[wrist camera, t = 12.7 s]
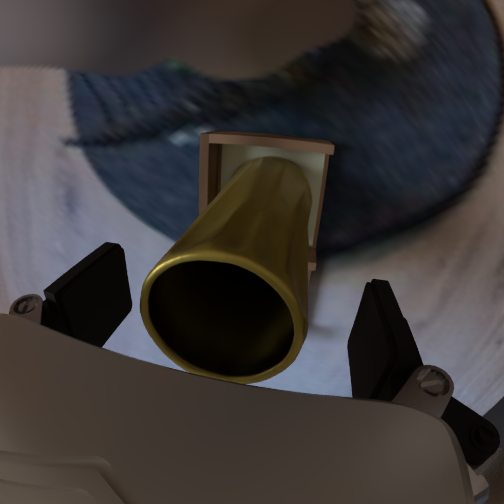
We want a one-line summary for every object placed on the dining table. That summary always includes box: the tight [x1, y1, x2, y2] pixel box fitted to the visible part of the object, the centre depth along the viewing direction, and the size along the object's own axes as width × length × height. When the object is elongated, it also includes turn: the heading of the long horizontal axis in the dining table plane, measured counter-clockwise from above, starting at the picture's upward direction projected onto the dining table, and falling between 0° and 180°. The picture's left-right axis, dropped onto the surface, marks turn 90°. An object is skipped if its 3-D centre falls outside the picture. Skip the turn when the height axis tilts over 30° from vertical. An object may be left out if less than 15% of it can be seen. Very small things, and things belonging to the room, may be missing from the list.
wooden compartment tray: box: [199, 131, 334, 287], centre depth 22 cm, size 8×17×4 cm, turn 176°
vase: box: [140, 156, 313, 384], centre depth 15 cm, size 6×6×14 cm
